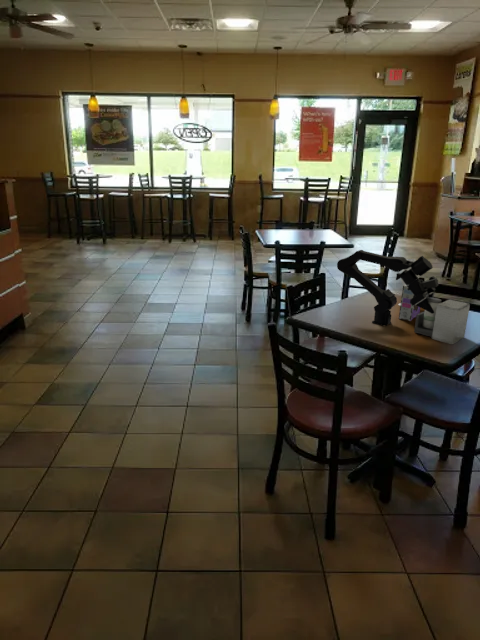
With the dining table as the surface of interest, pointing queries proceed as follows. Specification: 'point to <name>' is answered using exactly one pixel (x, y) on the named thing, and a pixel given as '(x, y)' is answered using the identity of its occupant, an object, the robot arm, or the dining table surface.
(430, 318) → the cup
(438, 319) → the caddy
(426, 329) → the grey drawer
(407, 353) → the dining table surface
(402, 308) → the candy box
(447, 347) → the dining table surface
